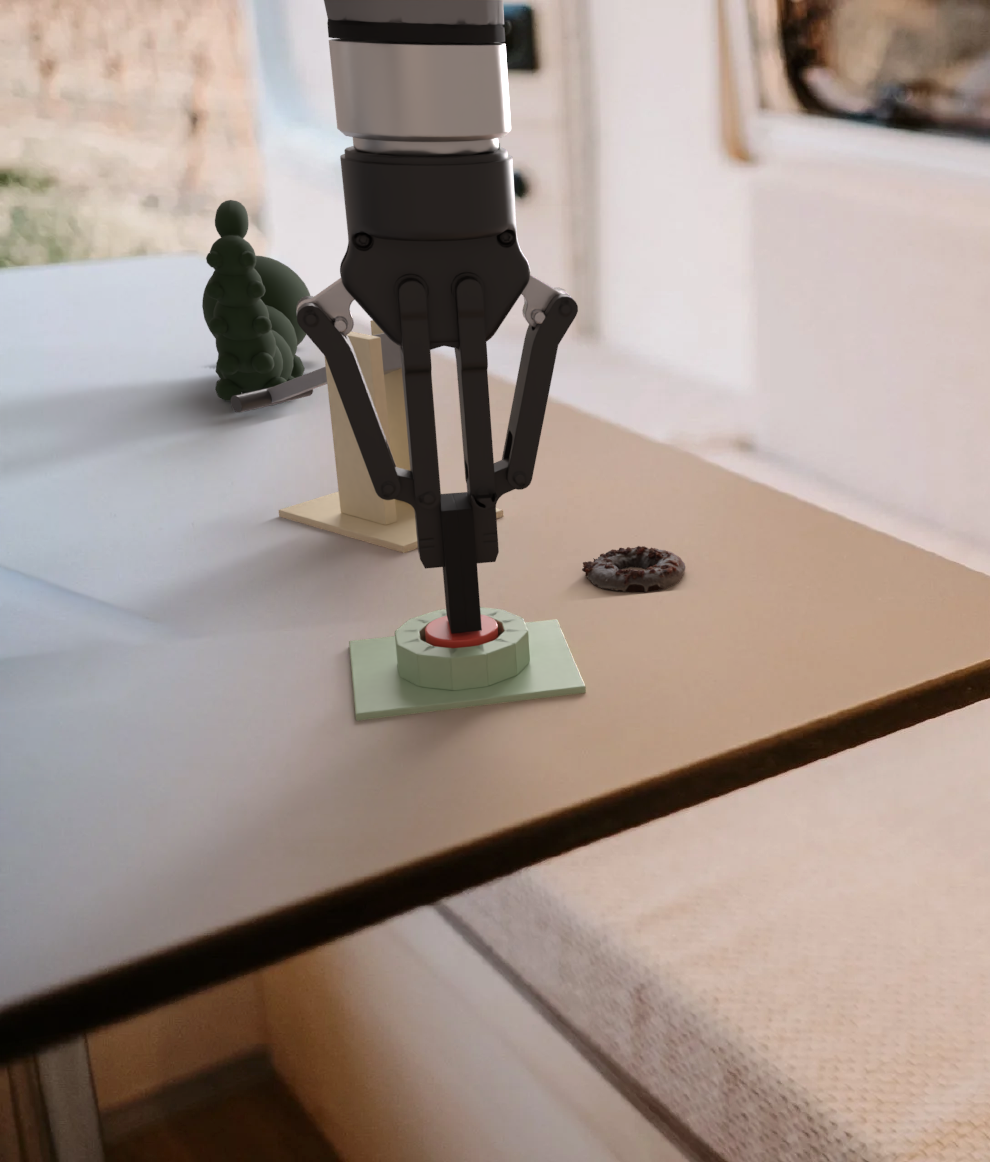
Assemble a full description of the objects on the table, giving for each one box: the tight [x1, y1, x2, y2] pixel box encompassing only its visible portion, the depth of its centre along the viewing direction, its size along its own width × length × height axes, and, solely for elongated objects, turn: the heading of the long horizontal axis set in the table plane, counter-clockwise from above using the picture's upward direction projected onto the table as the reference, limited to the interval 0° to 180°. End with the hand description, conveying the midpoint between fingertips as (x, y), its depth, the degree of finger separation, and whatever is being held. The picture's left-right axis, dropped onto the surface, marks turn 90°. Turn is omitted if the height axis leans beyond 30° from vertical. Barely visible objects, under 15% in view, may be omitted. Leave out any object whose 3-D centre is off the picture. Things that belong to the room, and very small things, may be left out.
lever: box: [230, 333, 402, 414], centre depth 99 cm, size 14×6×2 cm, turn 59°
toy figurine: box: [201, 199, 311, 402], centre depth 130 cm, size 9×19×25 cm
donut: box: [581, 545, 686, 593], centre depth 91 cm, size 8×8×2 cm
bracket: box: [278, 319, 504, 554], centre depth 98 cm, size 12×9×14 cm
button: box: [425, 615, 498, 648], centre depth 75 cm, size 4×4×2 cm
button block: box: [348, 606, 587, 722], centre depth 76 cm, size 11×9×4 cm
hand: (463, 621), depth 75 cm, fingers closed
